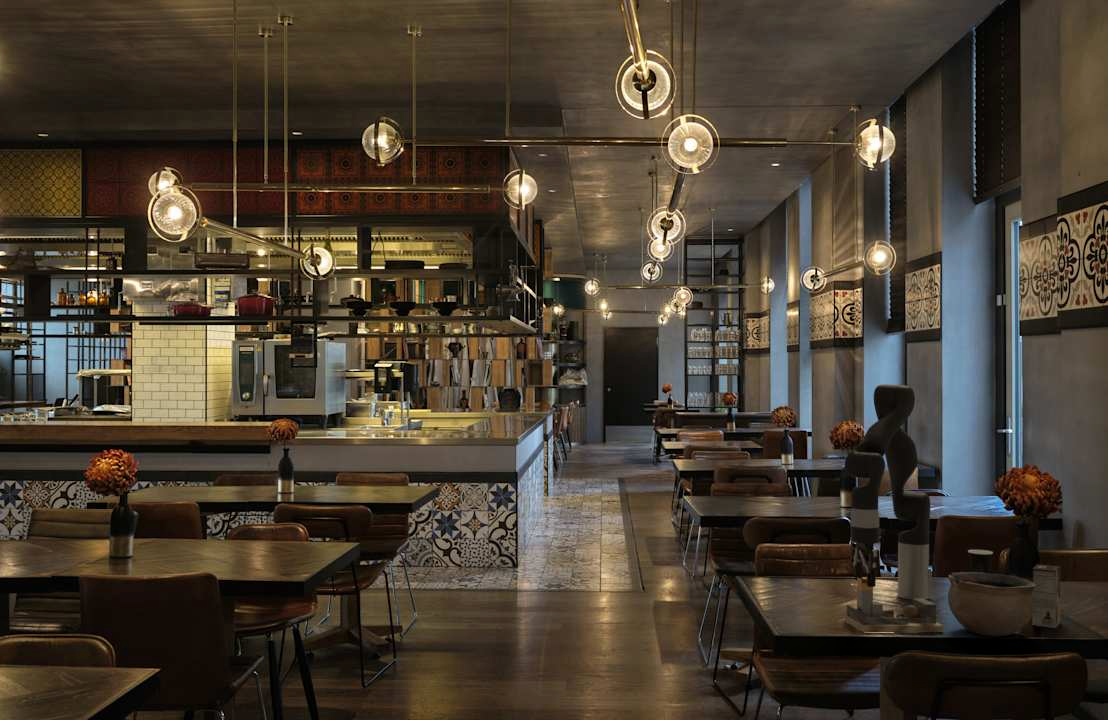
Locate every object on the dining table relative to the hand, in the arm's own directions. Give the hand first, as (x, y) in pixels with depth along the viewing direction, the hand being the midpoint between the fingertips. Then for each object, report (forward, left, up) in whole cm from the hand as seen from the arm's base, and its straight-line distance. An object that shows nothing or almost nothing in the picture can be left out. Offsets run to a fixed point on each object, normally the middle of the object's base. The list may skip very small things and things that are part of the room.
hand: (864, 583), depth 285 cm
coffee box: (-54, -2, -12) cm, 56 cm away
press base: (-8, 0, -12) cm, 15 cm away
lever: (-1, 0, -10) cm, 10 cm away
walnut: (-13, 0, -10) cm, 17 cm away
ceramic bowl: (-32, +8, -12) cm, 35 cm away
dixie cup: (-66, -60, -12) cm, 90 cm away
